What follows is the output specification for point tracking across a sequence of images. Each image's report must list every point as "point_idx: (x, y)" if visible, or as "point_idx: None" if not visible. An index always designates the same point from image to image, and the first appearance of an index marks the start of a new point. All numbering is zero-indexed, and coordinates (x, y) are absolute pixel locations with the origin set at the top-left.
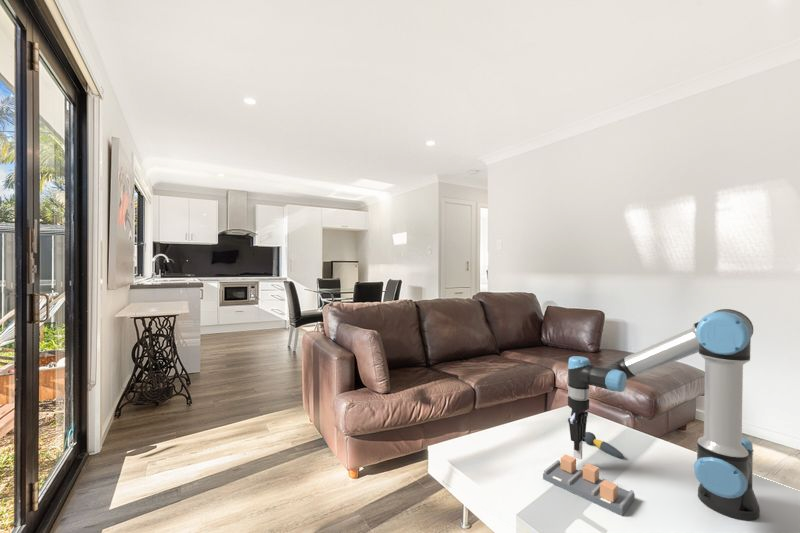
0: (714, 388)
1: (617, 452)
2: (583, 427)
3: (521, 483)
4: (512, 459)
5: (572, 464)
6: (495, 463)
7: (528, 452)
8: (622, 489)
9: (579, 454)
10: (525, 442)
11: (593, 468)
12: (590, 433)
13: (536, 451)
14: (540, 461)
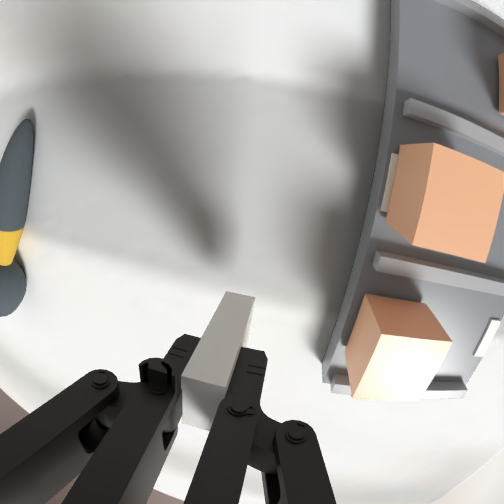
0: None
1: (17, 147)
2: (49, 456)
3: (491, 402)
4: (354, 468)
5: (432, 328)
6: (401, 477)
7: None
8: (407, 21)
9: (247, 323)
10: None
11: (469, 185)
12: None
13: None
14: (314, 421)
